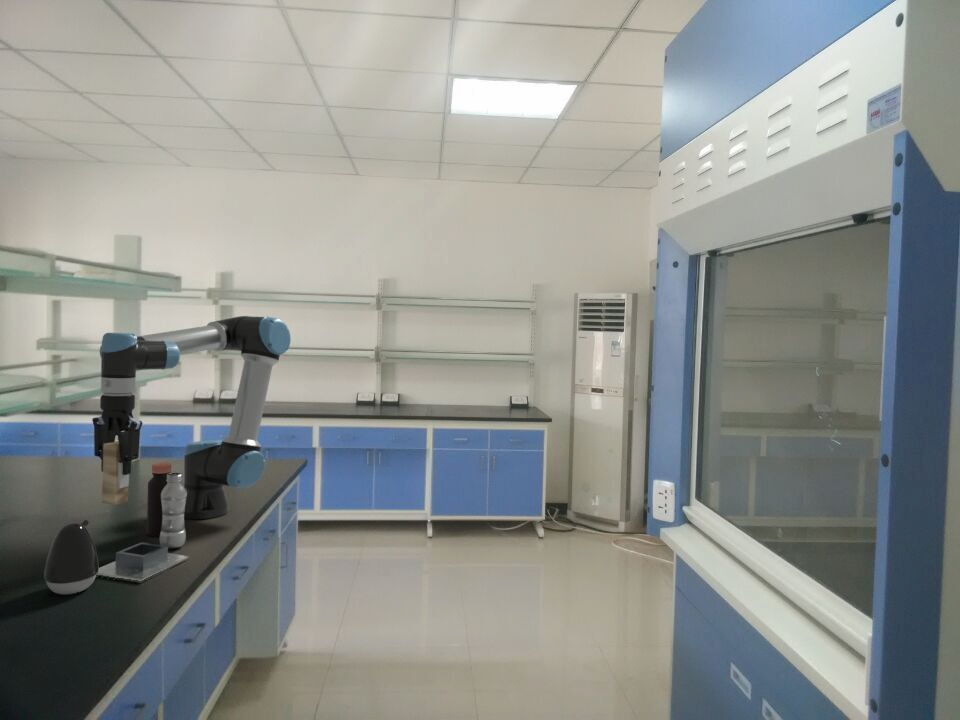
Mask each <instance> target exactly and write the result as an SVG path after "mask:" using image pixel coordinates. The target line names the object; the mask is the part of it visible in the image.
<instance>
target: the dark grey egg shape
mask: <svg viewBox="0 0 960 720" xmlns="http://www.w3.org/2000/svg"><path fill="white" fill-rule="evenodd" d="M89 523H90V522H89V520H88V519H84V520H83V521H82V522H81V523H80V522H69V523H67V524H64V526H62V527H61V528H60V529H59V530H58V532H57V533H56V535H55V537H54V539H53V541H52V542H51V545H50V549H49V551H48V553H47V554H48V555H47V557H46V561H45V566H44V573H43V580H45V582H46V585H47V586H48V589H49V590H51V592H53V593H55V594H59V595H64V596H65V595H74V594H78V593H80V592H82V591H85V590H86V589H89V587H90V586H91V585H92V584H93V583H94V581H95V579H96V577H97V576H96V574H97V573H98V571H99V568H100V567H99V565H100V564H99V558H98V554H97V553H98V552H97V548H96V545H95V542H94V540H93V537H92V535H91V533H90V531H89V530H88V528H87V526H88V524H89ZM77 592H78V593H77Z"/></svg>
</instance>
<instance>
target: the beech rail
mask: <svg viewBox="0 0 960 720" xmlns="http://www.w3.org/2000/svg"><path fill="white" fill-rule="evenodd" d="M126 457H127V456H126ZM120 460H121V456H120V449H119V442H118V441H115V442H111V443H105V444H104V445H103V472H102V484H101V485H102V492H101V493H102V494H101V496H102V497H101V504H106V505H114V506H116V505H119V504H123V503H127V502H128V501H129V486H127V487H123V488H118V462H119V461H120Z"/></svg>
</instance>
